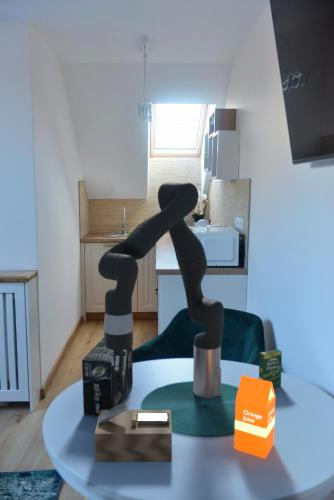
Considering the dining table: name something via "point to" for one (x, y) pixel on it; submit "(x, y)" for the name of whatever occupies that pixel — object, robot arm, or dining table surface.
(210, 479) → the dining table surface
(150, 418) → the clasp
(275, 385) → the coffee box
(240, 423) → the orange juice
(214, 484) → the dining table surface
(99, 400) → the box
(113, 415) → the clasp
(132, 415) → the wooden latch case
